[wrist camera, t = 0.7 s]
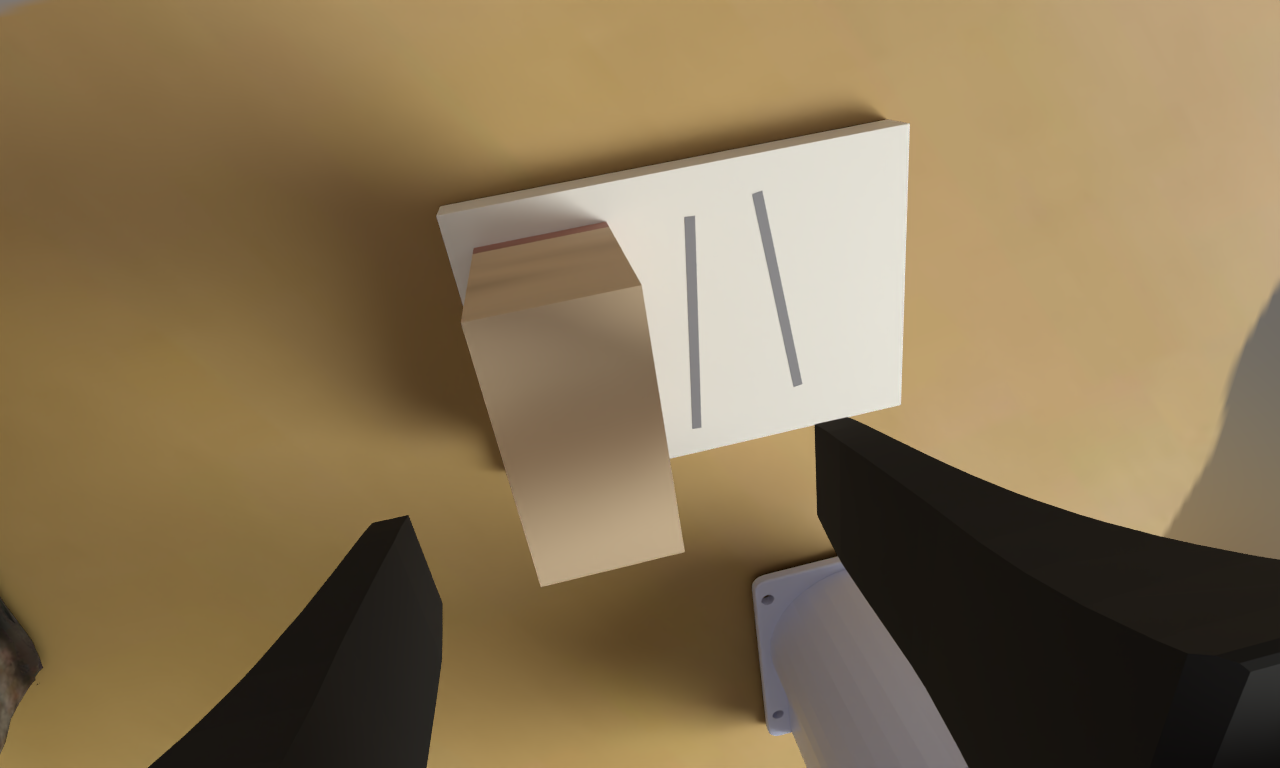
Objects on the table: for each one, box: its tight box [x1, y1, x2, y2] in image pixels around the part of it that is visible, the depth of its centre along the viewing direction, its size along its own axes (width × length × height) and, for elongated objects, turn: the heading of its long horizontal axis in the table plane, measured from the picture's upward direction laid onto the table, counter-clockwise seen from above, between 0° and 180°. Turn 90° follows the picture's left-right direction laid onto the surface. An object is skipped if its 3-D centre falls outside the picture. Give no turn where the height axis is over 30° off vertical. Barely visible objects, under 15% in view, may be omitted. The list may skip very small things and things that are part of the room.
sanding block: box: [461, 222, 685, 587], centre depth 17 cm, size 7×4×6 cm, turn 9°
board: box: [436, 119, 910, 459], centre depth 21 cm, size 9×13×1 cm
